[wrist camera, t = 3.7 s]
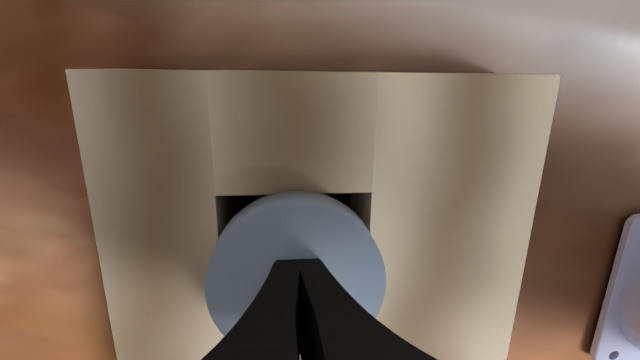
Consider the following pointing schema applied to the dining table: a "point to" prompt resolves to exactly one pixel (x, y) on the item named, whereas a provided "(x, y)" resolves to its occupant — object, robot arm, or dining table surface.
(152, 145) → the panel
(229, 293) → the slate-blue plug
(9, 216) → the dining table surface
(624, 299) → the robot arm
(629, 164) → the dining table surface
